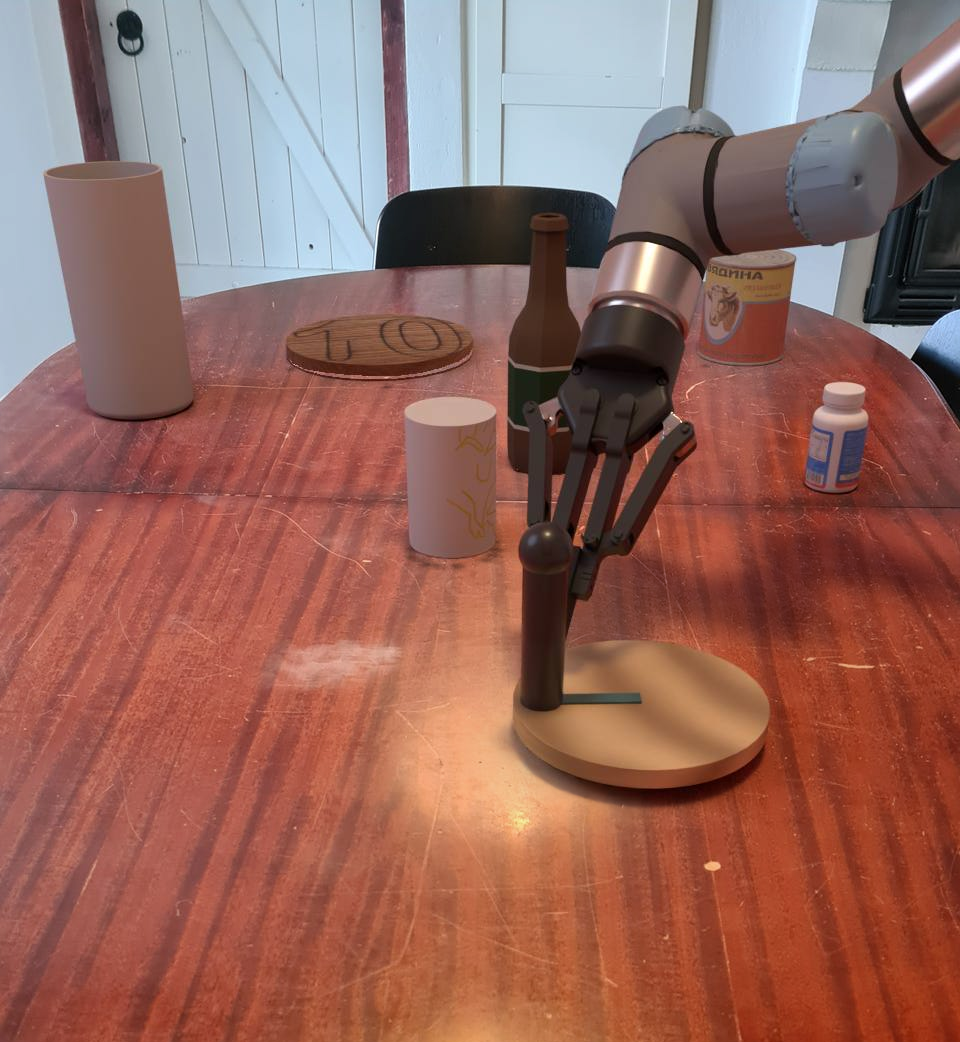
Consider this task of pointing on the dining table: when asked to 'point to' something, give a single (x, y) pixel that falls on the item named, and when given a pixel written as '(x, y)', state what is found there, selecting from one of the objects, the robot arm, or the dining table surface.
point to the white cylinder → (451, 476)
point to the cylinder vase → (121, 286)
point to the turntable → (624, 693)
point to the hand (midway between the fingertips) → (550, 638)
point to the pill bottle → (837, 439)
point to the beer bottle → (542, 342)
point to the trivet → (378, 345)
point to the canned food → (746, 307)
